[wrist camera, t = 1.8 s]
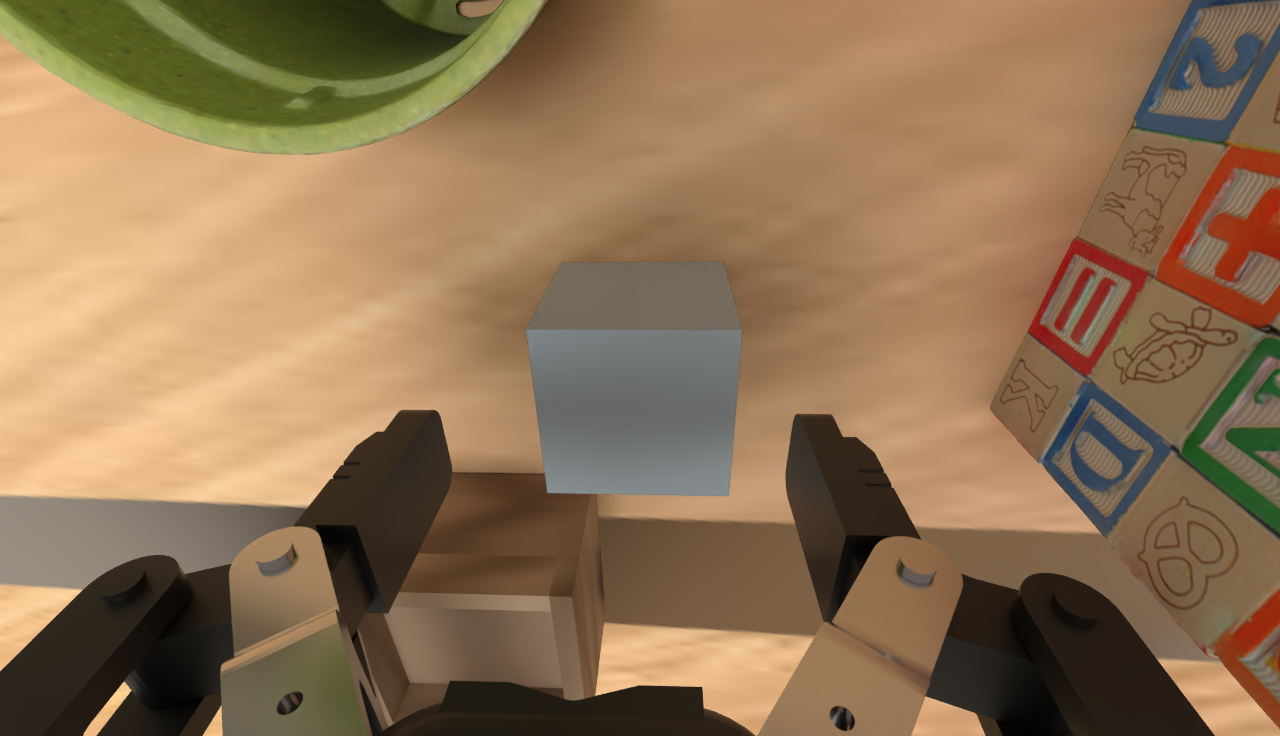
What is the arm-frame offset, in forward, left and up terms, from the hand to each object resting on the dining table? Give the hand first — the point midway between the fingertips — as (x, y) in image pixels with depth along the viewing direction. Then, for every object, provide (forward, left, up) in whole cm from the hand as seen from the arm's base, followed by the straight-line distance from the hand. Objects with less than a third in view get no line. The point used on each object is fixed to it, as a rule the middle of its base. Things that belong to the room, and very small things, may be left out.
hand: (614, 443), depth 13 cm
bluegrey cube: (0, 0, -6) cm, 6 cm away
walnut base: (+6, +10, -6) cm, 13 cm away
